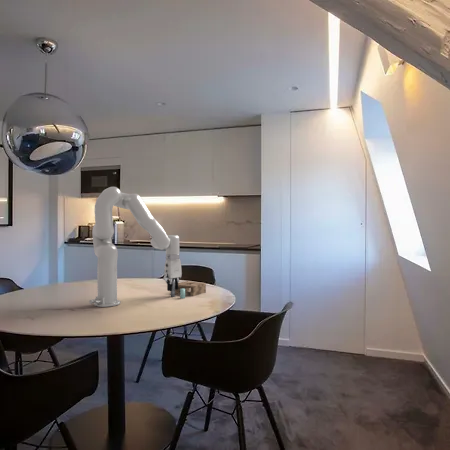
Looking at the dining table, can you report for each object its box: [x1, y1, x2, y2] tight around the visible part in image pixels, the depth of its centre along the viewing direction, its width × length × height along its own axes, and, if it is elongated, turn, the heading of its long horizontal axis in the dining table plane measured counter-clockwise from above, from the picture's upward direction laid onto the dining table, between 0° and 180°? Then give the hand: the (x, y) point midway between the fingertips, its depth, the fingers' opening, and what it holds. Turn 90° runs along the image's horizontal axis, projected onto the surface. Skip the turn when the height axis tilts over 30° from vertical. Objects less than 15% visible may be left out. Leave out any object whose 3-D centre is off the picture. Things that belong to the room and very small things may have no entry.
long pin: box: [170, 278, 176, 298], centre depth 201 cm, size 3×3×12 cm
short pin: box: [179, 289, 186, 300], centre depth 197 cm, size 3×3×5 cm
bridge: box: [175, 280, 207, 297], centre depth 211 cm, size 12×14×6 cm
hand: (172, 289), depth 201 cm, fingers open, 4 cm apart
